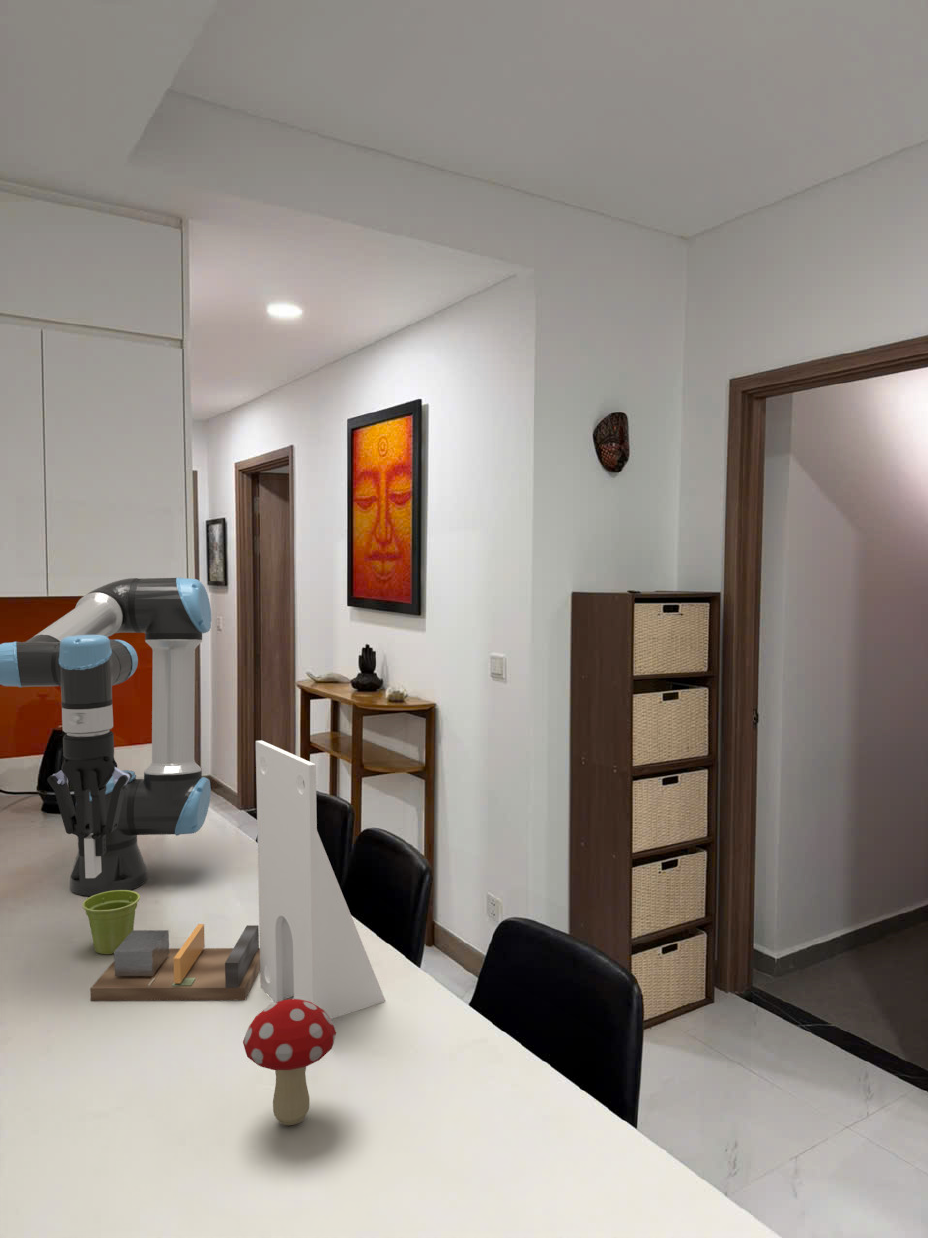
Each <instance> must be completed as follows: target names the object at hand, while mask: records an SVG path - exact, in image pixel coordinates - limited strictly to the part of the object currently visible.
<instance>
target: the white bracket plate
mask: <svg viewBox="0 0 928 1238" xmlns="http://www.w3.org/2000/svg"><path fill="white" fill-rule="evenodd" d="M255 767H256V768H255V772H256V773H255V774H256V780H255V781H256V783H255V784H256V819H257V821H256V823H257V824H256V826H257V869H258V871H257V872H258V873H257V875H258V879H257V880H258V918H259V919H258V923H259V948H260V971H259V976H260V985H259V986H260V989H262V990H263V992H265V994H266V993H267V994H268V995H269V996H268V995H267V994H266V995H267V996H268V997H269V998H270V999H271V1000H272V1001H273V1002H274V1003H277V1002H279V1001H282V1000H286V999H287V998H288V999H289V998H292V997H293V999H300V1000H305V1001H309V1002H311V1003H313V1004H315V1005H316V1006H318V1007H319V1008H321V1009H323V1010H324V1011H325V1012H326V1014H327V1015H328V1016H329V1017H330V1019H331V1020H332V1019H335V1018H337V1017H341V1016H344V1015H347V1014H350V1013H353V1012H356V1011H359V1010H362V1009H365V1008H369V1007H372V1006H374V1005H378V1004H381V1003H384V1002H386V999H385V997H384V994H383V991H382V988H381V985H380V983H379V981H378V978H377V976H376V974H375V972H374V969H373V966H372V964H371V962H370V959H369V957H368V954H367V951H366V949H365V946H364V944H363V941H362V939H361V936H360V934H359V931H358V929H357V926H356V924H355V922H354V919H353V916H352V914H351V912H350V911H351V910H350V909H349V906H348V904H347V901H346V899H345V897H344V894H343V892H342V889H341V887H340V884H339V882H338V879H337V877H336V875H335V871H334V870H333V867H332V865H331V862H330V860H329V856H328V855H327V852H326V850H325V847H324V844H323V842H322V839H321V837H320V834H319V832H318V828H317V827H318V826H317V824H318V822H317V821H318V819H317V815H318V814H317V764H316V763H314V762H312V761H309V760H306V759H305V758H302V757H300V756H299V755H296V754H293V753H291V752H289V751H287V750H284V749H282V748H281V747H278V746H275V745H273V744H271V743H268V742H266V741H264V740H255Z"/></svg>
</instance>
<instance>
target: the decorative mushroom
mask: <svg viewBox="0 0 928 1238" xmlns="http://www.w3.org/2000/svg"><path fill="white" fill-rule="evenodd" d="M336 1035H337V1031H336V1029H335V1026H334V1023H333V1022H332V1019H330V1017H329V1016H328V1015H327V1014H326V1012H325V1011H324V1010H323V1009H321V1008H319V1007H318V1006H316V1005H315V1004H313V1003H311V1002H309V1001H305V1000H300V999H294V998H288V999H287V998H286V999H283V1000H282V1001H279V1002H277V1003H275V1002H274V1003H272V1004H269V1005H268V1006H267V1007H266V1008H264V1009H263V1010H262V1011H260V1012H259V1013H258V1014H257V1015H256V1016H255V1017H254V1018H253V1020H252V1021H251V1023H250V1024H249V1026H248V1028H247V1031H246V1032H245V1035H244V1038H243V1041H242V1044H243V1047H244V1050H245V1054H246V1056H247V1058H248V1059H249V1060H250V1061H252V1062H253V1063H254V1064H256V1065H257V1066H259V1067H261V1068H265V1069H268V1070H272V1071H275V1086H274V1093H273V1099H272V1100H273V1101H272V1111H273V1115H274V1117H275V1119H276V1120H277V1121H278V1122H279V1123H280V1124H281V1125H283V1126H293V1125H297V1124H299V1123H302V1121H303V1120H304V1119H306V1116H307V1114H308V1113H309V1110H310V1093H309V1089H308V1084H307V1077H306V1076H307V1075H306V1071H307V1067H309V1066H310V1065H312V1064H315V1063H316V1062H319V1061H320V1060H321V1059H323V1058H324V1057H325V1056H326V1055H327V1054H328V1052H331V1050H332V1049H333V1045H334V1042H335V1039H336Z"/></svg>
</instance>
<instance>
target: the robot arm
mask: <svg viewBox="0 0 928 1238" xmlns="http://www.w3.org/2000/svg"><path fill="white" fill-rule="evenodd" d="M211 608H212V607H211V603H210V598H209V595H208V592H207V590H206V587H205V585H204V584H203V582H201V581H200V580H199V579H196V578H186V577H185V578H184V577H160V578H159V577H156V578H150V577H149V578H136V577H134V578H133V577H131V578H124V579H120V580H115V581H112V582H110V583H107V584H105V585H103V586H100V587H98V588H95V589H94V590H91V591H90V592H88V593H87V594H85V595H84V596H82V597H81V598H80V599H78V601H77V602H76V605H75V608H73V609H72V610H70V611H69V612H67V613H66V614H65V615H63V616H62V617H60V618H58V619H57V620H55V621H54V622H52V623H51V624H49V625H48V626H46V628H43V630H41V631H39V632H38V633H37V634H35V635H33V636H32V637H31V638H29V639H27V640H26V641H23V642H21V641H13V642H3V643H0V685H1V686H3V687H18V688H28V687H29V688H32V687H34V688H35V687H60V691H61V692H60V694H61V695H60V696H61V697H60V698H61V726H62V732H64V733H65V734H64V735H63V736H62V752H63V753H62V755H63V759H64V760H63V763H62V764H61V769H60V770H59V771H57V772H55V773H53V774H52V775H50V776H48V777H47V779H46V781H47V783H48V785H49V786H50V787H51V788H52V790H53V791H54V792H53V793H54V795H55V799H56V802H57V806H58V809H59V812H60V816H61V819H62V823H63V826H64V831H65V832H66V834H68V835H75V836H77V854H76V857H75V861H74V862H73V863H74V864H73V867H72V870H71V873H70V877H69V884H70V885H69V889H70V891H71V892H72V893H73V894H76V895H80V896H84V897H85V896H86V897H87V896H88V897H91V896H93V895H96V894H99V893H103V892H107V891H114V890H130V891H133V890H134V889H136V888H139V887H141V886H142V885H144V884H145V883H146V881H147V880H148V872H147V871H148V870H147V865H146V863H145V861H144V857H143V855H142V853H141V850H140V847H139V845H138V844H139V843H138V836H152V835H153V836H157V835H161V836H163V835H167V836H168V835H170V836H171V835H174V836H180V835H192V834H196V833H197V832H199V831H200V829H202V827H203V825H204V824H205V821H206V818H207V815H208V812H209V807H210V803H211V801H210V800H211V794H212V793H211V792H212V789H211V781H210V779H209V778H207V777H204V776H202V775H203V773H202V767H201V766H200V765H199V764H197V762H196V759H195V702H196V699H195V697H196V695H195V693H196V691H195V689H196V688H195V687H196V681H195V680H196V669H195V668H196V649H197V647H198V646H199V645H201V643H202V642H203V634H206V633H209V631H210V630H211V627H212V610H211ZM119 633H120V634H121V633H124V634H126V633H132V634H134V633H136V634H140V633H141V634H144V641H145V644H147V645H148V646H149V647H150V648H151V650H152V673H151V674H152V677H151V678H152V682H151V683H152V686H151V687H152V692H151V693H152V695H151V697H152V700H151V701H152V702H151V703H152V707H151V708H152V709H151V710H152V711H151V715H152V716H151V717H152V718H151V723H152V724H151V729H152V730H151V763H150V764H149V766H147V768H146V769H145V770H144V772H143V778H137V774H136V773H135V771H133V770H125V769H124V770H121V769H120V768H118V764H117V762H116V759H115V740H114V738H115V736H114V732H113V731H112V729H113V728H114V713H113V711H114V710H113V686H116V685H120V684H122V683H124V682H126V681H127V680H129V678H131V677H132V676H133V675H134V673H135V672H136V670H137V668H138V664H139V658H138V654H137V651H136V649H135V648H134V646H133V645H131V644H130V643H128V642H127V641H125V640H122V639H110V638H109V637H111V636H113V635H114V634H119ZM68 781H69V783H71V786H73V795H74V797H75V805H74V801H73V798H72V794H71V790H70V788H69V784H68V783H67V782H68Z"/></svg>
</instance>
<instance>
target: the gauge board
mask: <svg viewBox="0 0 928 1238" xmlns="http://www.w3.org/2000/svg"><path fill="white" fill-rule="evenodd" d="M180 949H181V947H180V948H170V947H169V954H168V956H167V957H166V959H165V960H164V961H163V963H162V964H161V965H160V967H159V968H158V969H157V971H156V972H155V973H154V975H153V976H115V965H114V961H113V962H112V963H111V964H110V965H109V966H108V967H107V968H106V970H105V971H104V972H103V973H102V974H101V975H100V977H99V978H98V979H97V980H96V981H95V982H94V984H92V985H91V987H90V1001H91V1002H100V1001H102V1002H103V1001H104V1002H106V1001H107V1002H108V1001H109V1002H116V1001H117V1002H122V1001H125V1002H126V1001H127V1002H128V1001H130V1002H133V1001H134V1002H135V1001H140V1002H141V1001H143V1002H144V1001H153V1002H155V1001H246V999H247V998H248V995H249V993H250V991H251V989H252V987H253V986H254V982H255V981H256V979H257V976H258V974H260V934H259V925H258V924H257V925H255V924H253V925H249V924H248V925H246V926H245V928H244V930H243V931H242V933H241V935H240V937H239V938H238V940H237V941H236V943H235V944H234V947H233V948H231V947H229V948H228V947H225V948H224V947H222V948H221V947H220V948H219V947H215V948H214V947H211V948H209V947H208V948H206V947H204V949H203V950H202V952H201V953H200V955H199V956H198V958H197V959H196V961H195V962H194V964H193V965H192V967H191V968H190V970H189V971H188V973H187V974H186V976H185V977H184V979H183V980H182V982H181V983H174V960H173V958H174V957H175V956H176V954H177V953H178V951H179V950H180Z"/></svg>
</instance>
